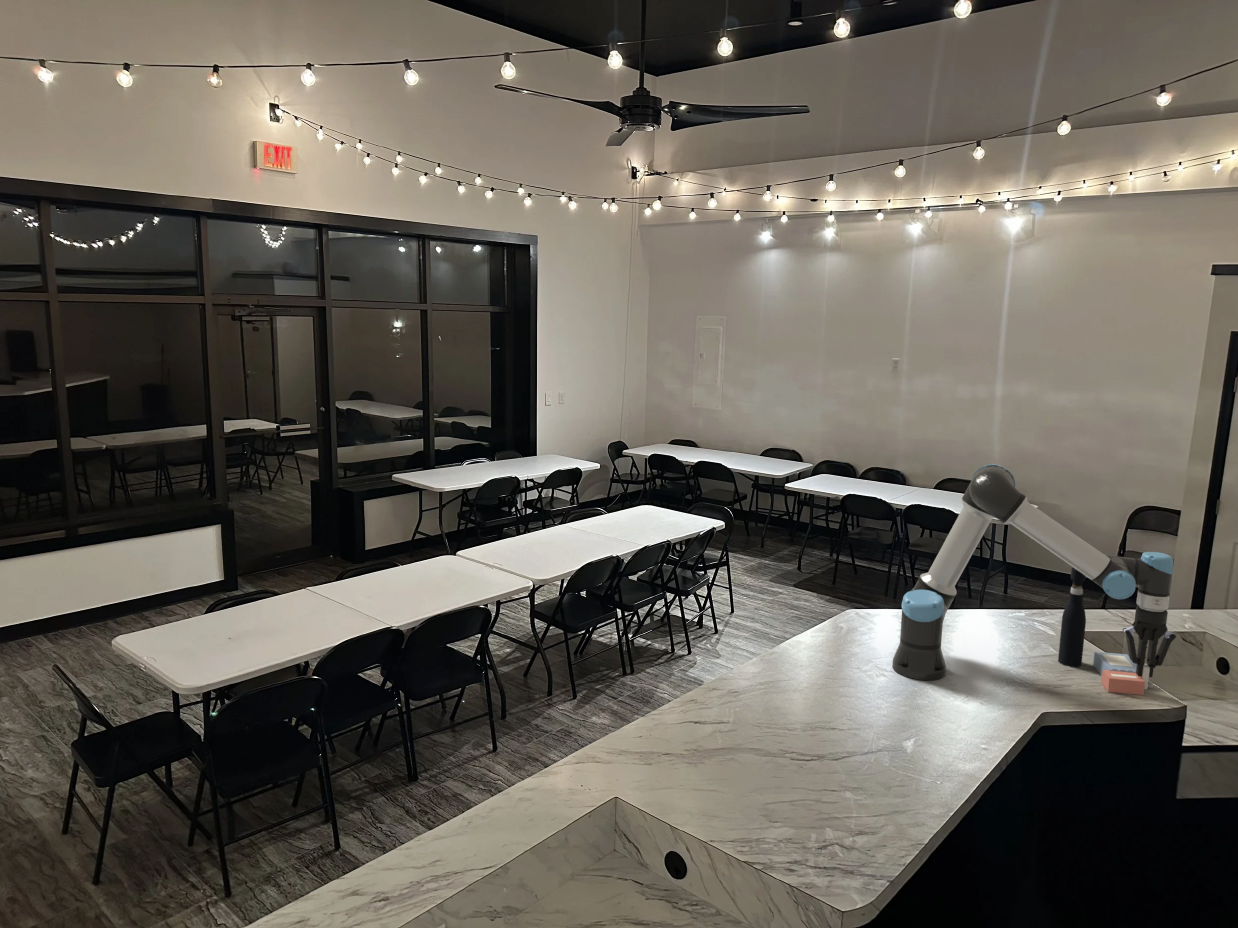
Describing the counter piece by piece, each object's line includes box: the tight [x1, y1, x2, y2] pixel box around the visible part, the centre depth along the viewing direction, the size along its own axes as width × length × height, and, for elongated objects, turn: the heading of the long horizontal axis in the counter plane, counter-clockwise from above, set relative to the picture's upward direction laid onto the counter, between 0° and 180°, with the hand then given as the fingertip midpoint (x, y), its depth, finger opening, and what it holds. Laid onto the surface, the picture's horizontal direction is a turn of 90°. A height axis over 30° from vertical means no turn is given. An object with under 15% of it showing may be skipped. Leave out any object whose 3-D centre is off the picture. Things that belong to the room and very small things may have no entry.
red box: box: [1100, 670, 1145, 696], centre depth 235 cm, size 9×6×4 cm, turn 76°
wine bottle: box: [1057, 567, 1087, 668], centre depth 252 cm, size 6×6×30 cm
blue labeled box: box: [1092, 651, 1137, 677], centre depth 245 cm, size 9×14×4 cm, turn 166°
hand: (1142, 686), depth 234 cm, fingers closed
